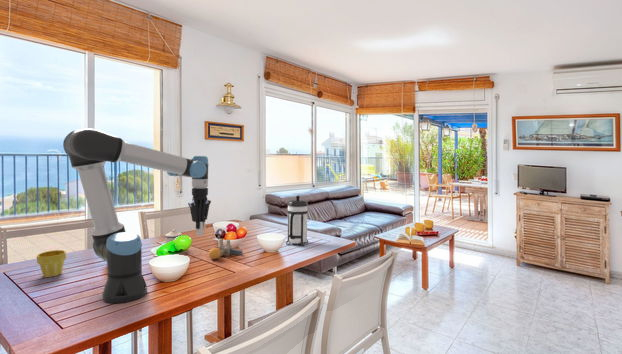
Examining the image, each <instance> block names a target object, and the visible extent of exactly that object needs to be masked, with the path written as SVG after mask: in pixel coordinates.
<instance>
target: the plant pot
mask: <svg viewBox="0 0 622 354" xmlns="http://www.w3.org/2000/svg"><path fill="white" fill-rule="evenodd" d="M66 259H67V254H66V250H63V249H56V250H48V251H43V252H41V253H39V254H37V255H36V263H37V264H38V265H39V268H40V270H41V273H42V277H44V278H53V277H52V276H54V277H57V275H58V276H60V275H62V273H63V270H64V262H65V260H66ZM59 274H60V275H59Z"/></svg>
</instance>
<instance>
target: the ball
mask: <svg viewBox="0 0 622 354" xmlns="http://www.w3.org/2000/svg"><path fill="white" fill-rule="evenodd" d="M220 255H221V251H220V250H219V249H218V247H212V248H211V249H209V252H208V256H209V258H210V259H212V260H217V259H219V258H220Z"/></svg>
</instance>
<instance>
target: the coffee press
mask: <svg viewBox="0 0 622 354" xmlns="http://www.w3.org/2000/svg"><path fill="white" fill-rule="evenodd" d="M308 207H309V203H308V201H307V200H305V199H301V198H300V196H299V195H296V197H295V198H294V199H290V200H288V202H287V241H285V245H286V246H289V245H290V244H297V245H298V244H300V247H305V246H304V245H305V244H304V243H308V242H309V240H308V213H309V212H308V211H309V210H308Z"/></svg>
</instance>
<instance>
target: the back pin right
mask: <svg viewBox="0 0 622 354" xmlns="http://www.w3.org/2000/svg"><path fill="white" fill-rule="evenodd" d="M224 243H225V246H224V247H225V254H224V255H225V257H226V258H227V257H228V258H229V257H231V254H230V245H231V239H230V240H229V239H226V240H225V242H224Z"/></svg>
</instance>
